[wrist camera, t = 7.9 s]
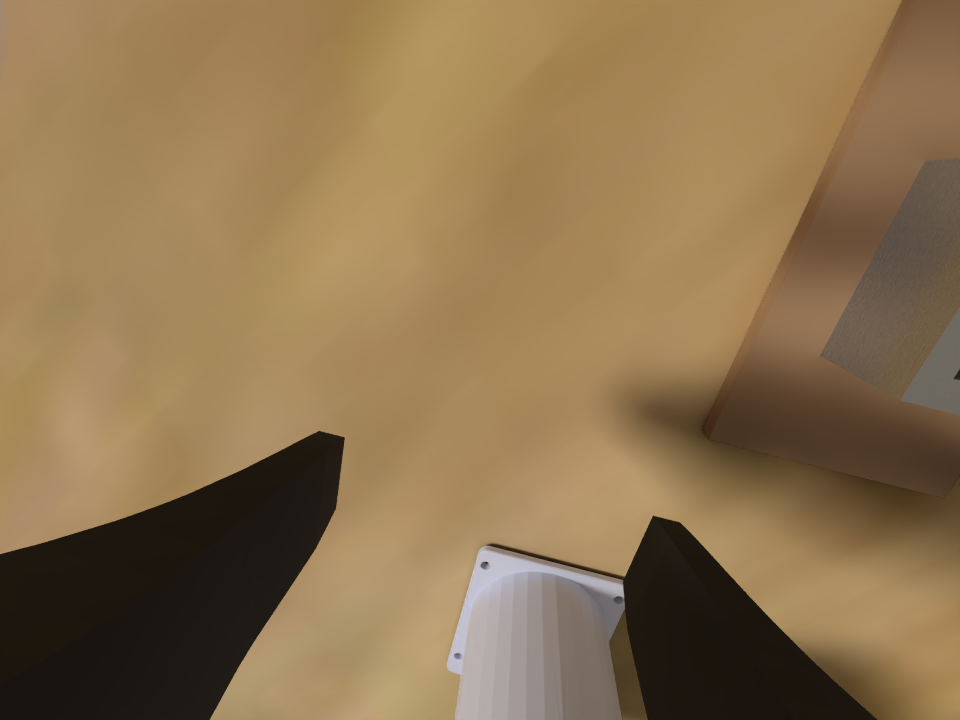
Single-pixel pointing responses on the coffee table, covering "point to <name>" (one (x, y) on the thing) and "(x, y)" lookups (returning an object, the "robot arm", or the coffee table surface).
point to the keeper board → (853, 280)
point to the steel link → (910, 299)
